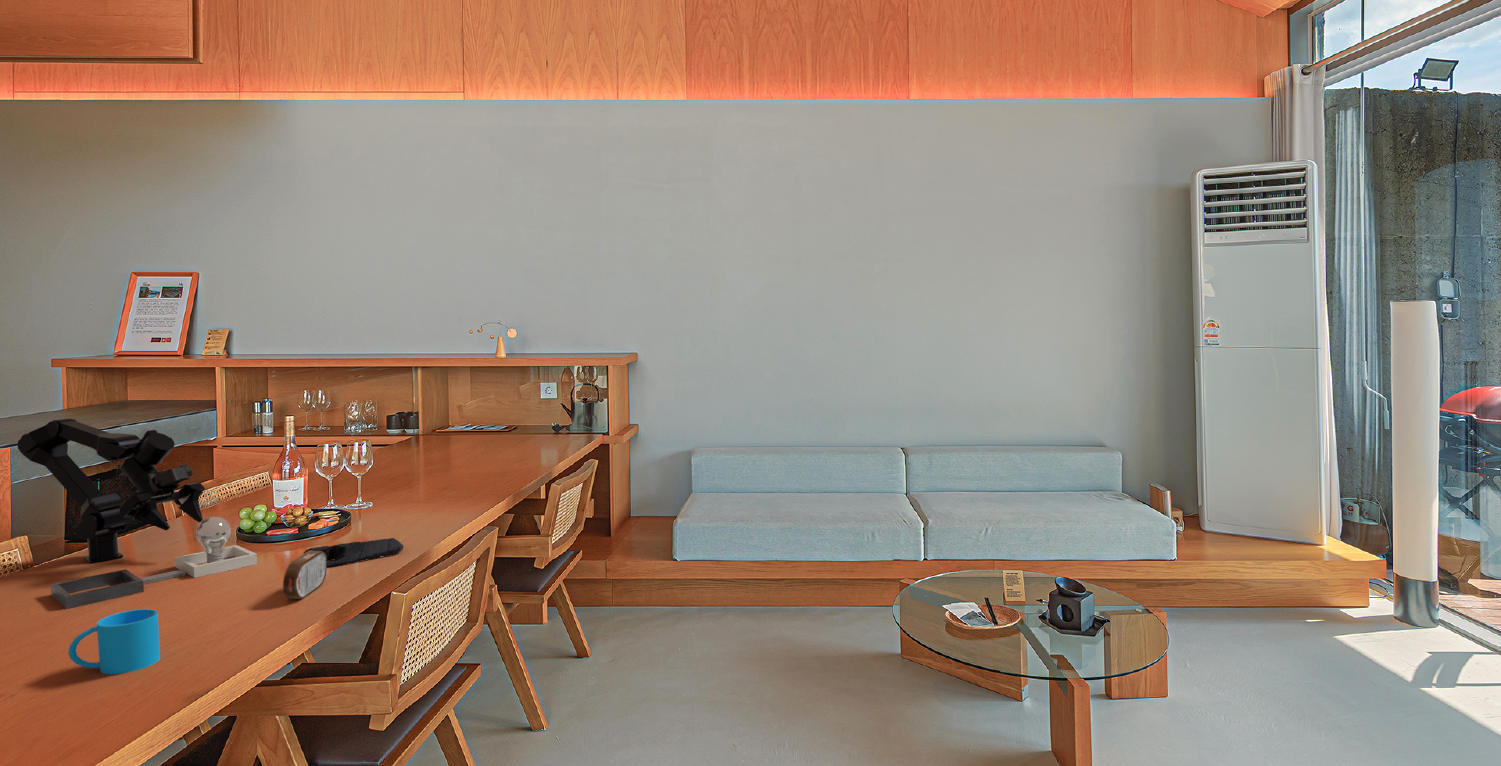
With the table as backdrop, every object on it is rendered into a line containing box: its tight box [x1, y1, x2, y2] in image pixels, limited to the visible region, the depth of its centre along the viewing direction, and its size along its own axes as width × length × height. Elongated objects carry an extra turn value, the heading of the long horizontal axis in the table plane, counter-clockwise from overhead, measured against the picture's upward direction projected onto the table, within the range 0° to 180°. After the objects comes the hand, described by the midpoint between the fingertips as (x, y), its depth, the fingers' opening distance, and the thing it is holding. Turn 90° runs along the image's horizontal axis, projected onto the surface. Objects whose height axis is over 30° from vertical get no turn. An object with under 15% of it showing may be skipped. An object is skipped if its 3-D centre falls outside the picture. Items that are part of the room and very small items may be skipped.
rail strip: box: [139, 569, 187, 585], centre depth 179 cm, size 3×9×1 cm, turn 142°
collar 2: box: [174, 544, 258, 579], centre depth 189 cm, size 13×13×2 cm
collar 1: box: [50, 568, 145, 610], centre depth 169 cm, size 13×13×2 cm
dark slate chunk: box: [303, 537, 404, 568], centre depth 196 cm, size 15×22×5 cm
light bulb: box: [195, 516, 232, 563], centre depth 188 cm, size 7×7×12 cm
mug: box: [68, 608, 161, 675], centre depth 133 cm, size 12×8×8 cm
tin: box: [282, 550, 327, 600], centre depth 169 cm, size 15×3×8 cm, turn 5°
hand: (185, 524), depth 190 cm, fingers open, 9 cm apart
